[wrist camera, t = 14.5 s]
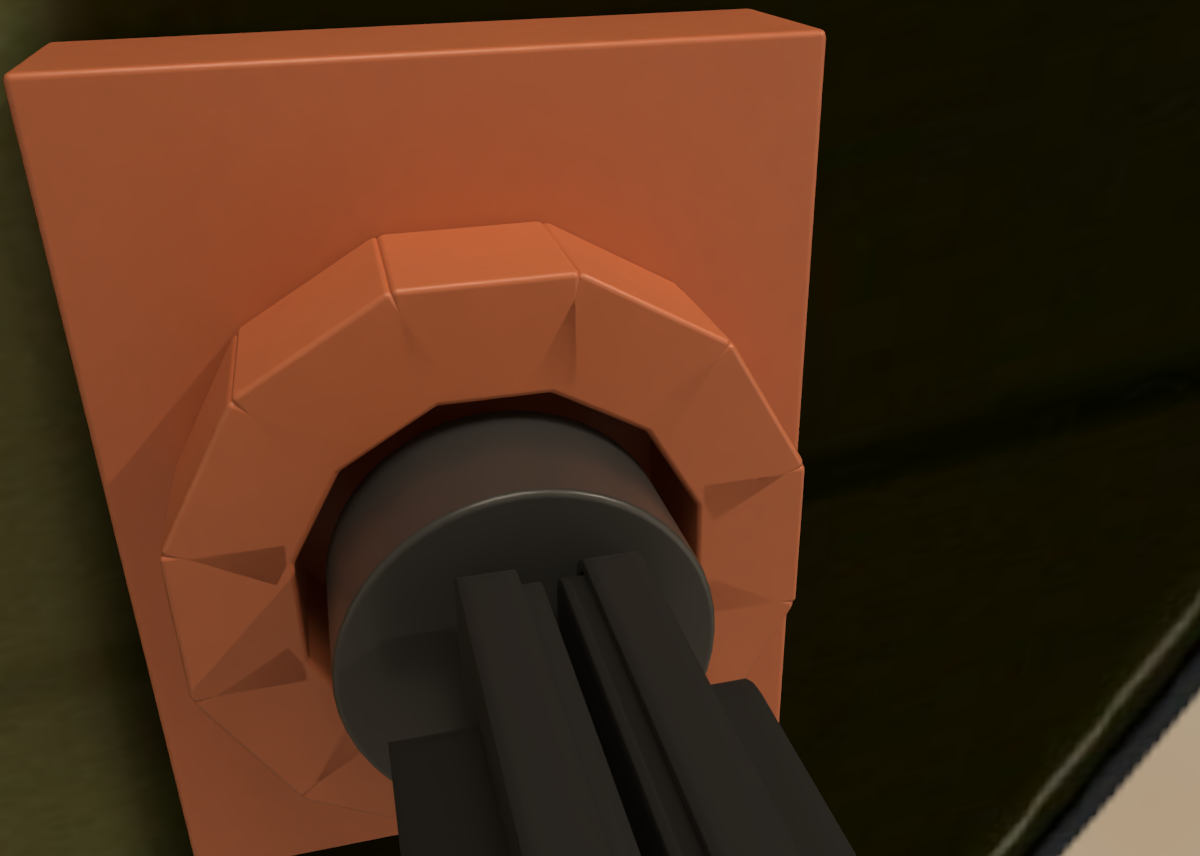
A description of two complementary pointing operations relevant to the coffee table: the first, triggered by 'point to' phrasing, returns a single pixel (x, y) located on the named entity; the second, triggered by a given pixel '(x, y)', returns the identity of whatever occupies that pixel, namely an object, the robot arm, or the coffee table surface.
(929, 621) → the coffee table surface
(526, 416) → the timer button
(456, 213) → the timer box
